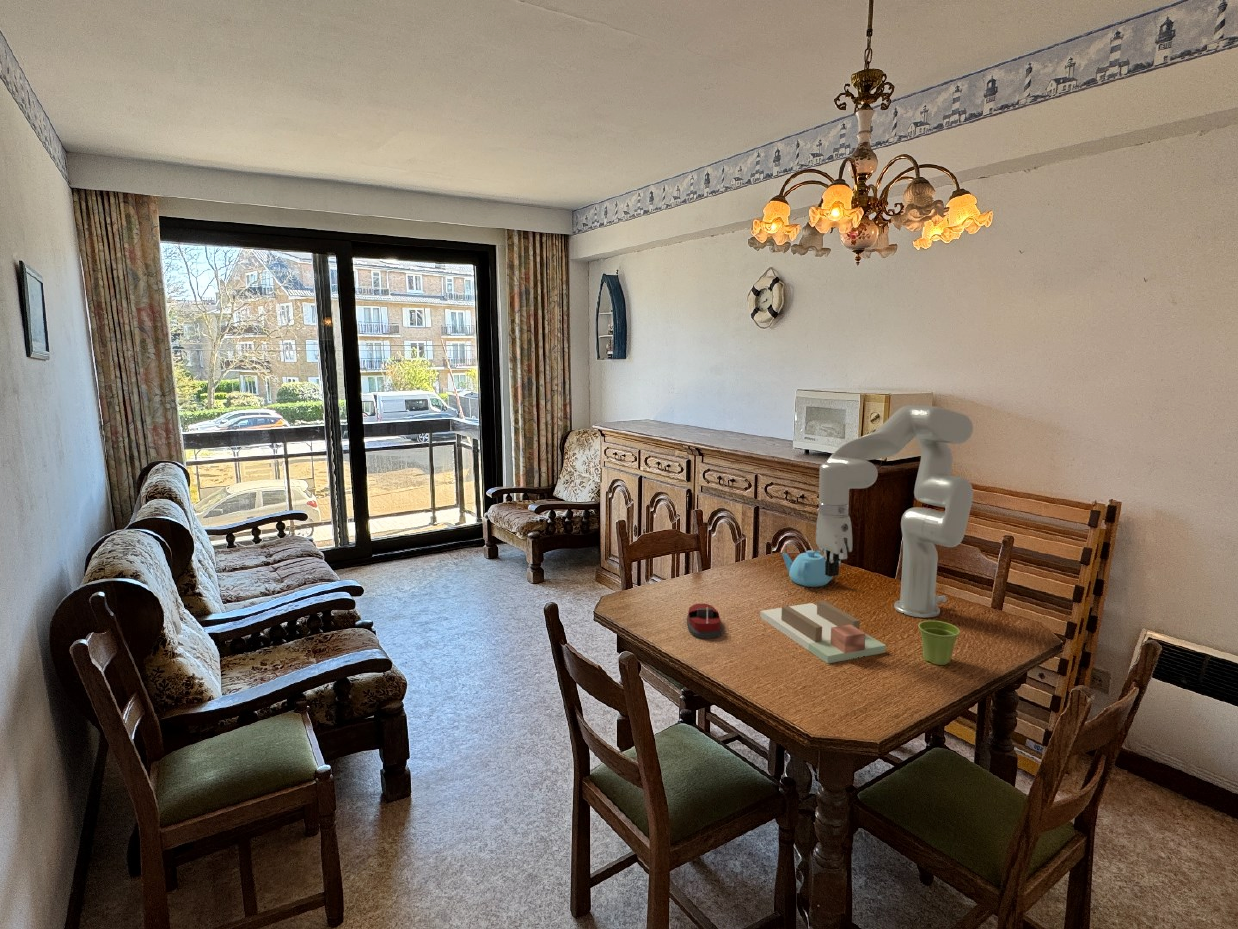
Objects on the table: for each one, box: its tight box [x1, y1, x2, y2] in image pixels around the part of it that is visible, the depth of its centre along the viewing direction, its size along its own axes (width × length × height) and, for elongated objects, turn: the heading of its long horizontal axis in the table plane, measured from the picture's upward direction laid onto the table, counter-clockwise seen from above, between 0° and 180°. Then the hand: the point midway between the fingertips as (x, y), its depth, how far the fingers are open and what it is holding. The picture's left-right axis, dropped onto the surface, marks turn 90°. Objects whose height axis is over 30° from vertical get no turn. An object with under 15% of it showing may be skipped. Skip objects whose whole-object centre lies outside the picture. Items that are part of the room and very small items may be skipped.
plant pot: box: [917, 620, 961, 666], centre depth 167 cm, size 9×9×9 cm
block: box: [830, 625, 867, 653], centre depth 170 cm, size 6×6×4 cm
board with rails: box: [759, 600, 887, 664], centre depth 183 cm, size 18×32×6 cm, turn 19°
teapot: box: [781, 550, 842, 588], centre depth 226 cm, size 15×15×11 cm
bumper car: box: [686, 603, 723, 639], centre depth 188 cm, size 10×20×10 cm, turn 0°
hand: (831, 575), depth 177 cm, fingers closed
